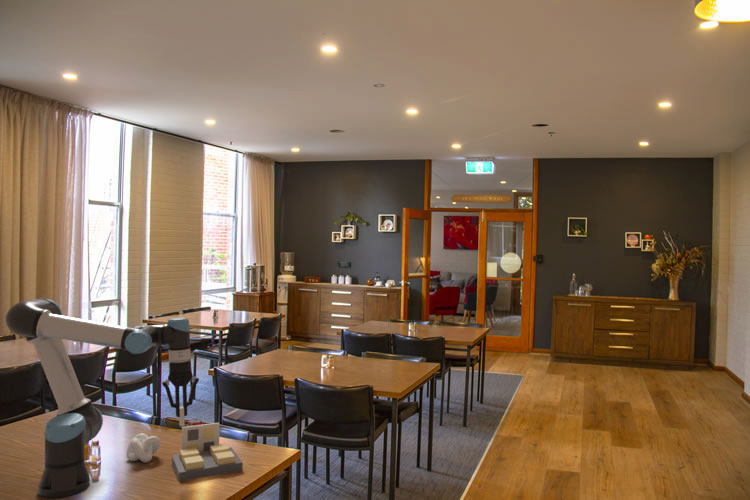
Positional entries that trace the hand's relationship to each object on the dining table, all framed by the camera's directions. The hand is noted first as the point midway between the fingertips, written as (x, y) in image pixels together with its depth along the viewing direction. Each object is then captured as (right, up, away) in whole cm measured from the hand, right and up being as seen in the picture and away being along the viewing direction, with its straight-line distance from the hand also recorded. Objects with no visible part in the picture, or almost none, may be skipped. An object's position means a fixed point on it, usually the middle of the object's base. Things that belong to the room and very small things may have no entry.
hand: (181, 425), depth 206 cm
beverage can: (-2, -16, +19) cm, 25 cm away
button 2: (+6, -14, -4) cm, 16 cm away
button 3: (+11, -14, +9) cm, 20 cm away
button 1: (+1, -14, +4) cm, 14 cm away
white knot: (-19, -16, +10) cm, 27 cm away
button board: (+7, -16, +4) cm, 18 cm away
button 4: (+15, -14, +1) cm, 21 cm away
